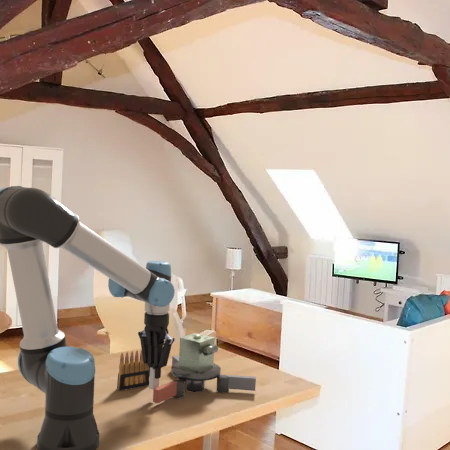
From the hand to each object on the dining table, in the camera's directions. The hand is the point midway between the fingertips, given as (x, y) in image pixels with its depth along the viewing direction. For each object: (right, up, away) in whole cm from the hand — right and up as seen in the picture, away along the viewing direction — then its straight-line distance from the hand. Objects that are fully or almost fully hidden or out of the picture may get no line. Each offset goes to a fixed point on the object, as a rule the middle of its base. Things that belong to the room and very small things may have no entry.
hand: (154, 387), depth 175 cm
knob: (+25, -4, +10) cm, 27 cm away
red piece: (+5, -4, 0) cm, 6 cm away
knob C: (+6, -2, +23) cm, 24 cm away
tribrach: (+12, -3, +11) cm, 16 cm away
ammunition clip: (-8, -3, +10) cm, 13 cm away
